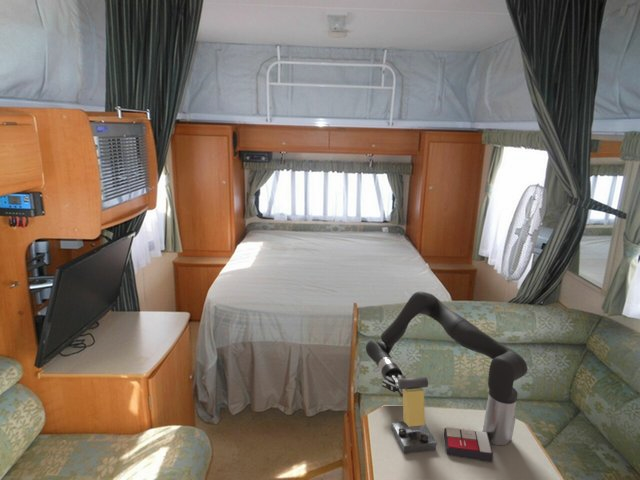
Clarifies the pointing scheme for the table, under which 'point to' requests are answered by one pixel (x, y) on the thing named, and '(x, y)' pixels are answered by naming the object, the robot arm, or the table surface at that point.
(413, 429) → the yellow toy mallet
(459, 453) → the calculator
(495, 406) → the robot arm
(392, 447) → the table surface
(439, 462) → the table surface
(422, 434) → the base
